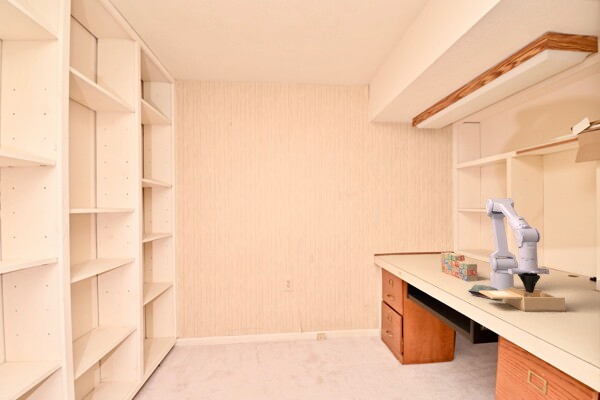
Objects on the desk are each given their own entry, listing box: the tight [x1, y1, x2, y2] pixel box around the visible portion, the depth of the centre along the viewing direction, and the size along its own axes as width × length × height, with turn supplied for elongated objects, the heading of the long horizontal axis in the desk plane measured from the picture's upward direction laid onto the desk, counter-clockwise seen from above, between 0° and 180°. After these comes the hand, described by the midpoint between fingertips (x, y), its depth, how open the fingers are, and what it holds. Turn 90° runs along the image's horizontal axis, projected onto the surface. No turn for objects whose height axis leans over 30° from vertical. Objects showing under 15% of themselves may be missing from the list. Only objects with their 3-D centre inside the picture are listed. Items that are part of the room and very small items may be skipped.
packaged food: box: [467, 284, 498, 300], centre depth 119 cm, size 9×12×5 cm
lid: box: [479, 286, 530, 300], centre depth 107 cm, size 8×15×2 cm, turn 87°
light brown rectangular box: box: [503, 288, 566, 313], centre depth 107 cm, size 11×15×5 cm
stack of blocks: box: [440, 251, 478, 282], centre depth 154 cm, size 21×6×12 cm, turn 7°
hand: (529, 292), depth 107 cm, fingers closed
